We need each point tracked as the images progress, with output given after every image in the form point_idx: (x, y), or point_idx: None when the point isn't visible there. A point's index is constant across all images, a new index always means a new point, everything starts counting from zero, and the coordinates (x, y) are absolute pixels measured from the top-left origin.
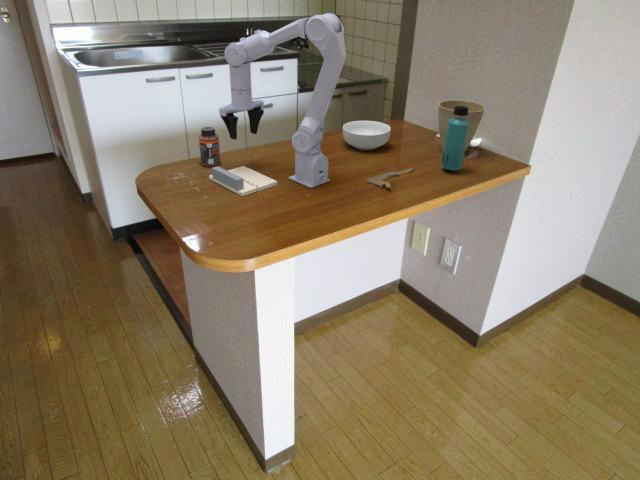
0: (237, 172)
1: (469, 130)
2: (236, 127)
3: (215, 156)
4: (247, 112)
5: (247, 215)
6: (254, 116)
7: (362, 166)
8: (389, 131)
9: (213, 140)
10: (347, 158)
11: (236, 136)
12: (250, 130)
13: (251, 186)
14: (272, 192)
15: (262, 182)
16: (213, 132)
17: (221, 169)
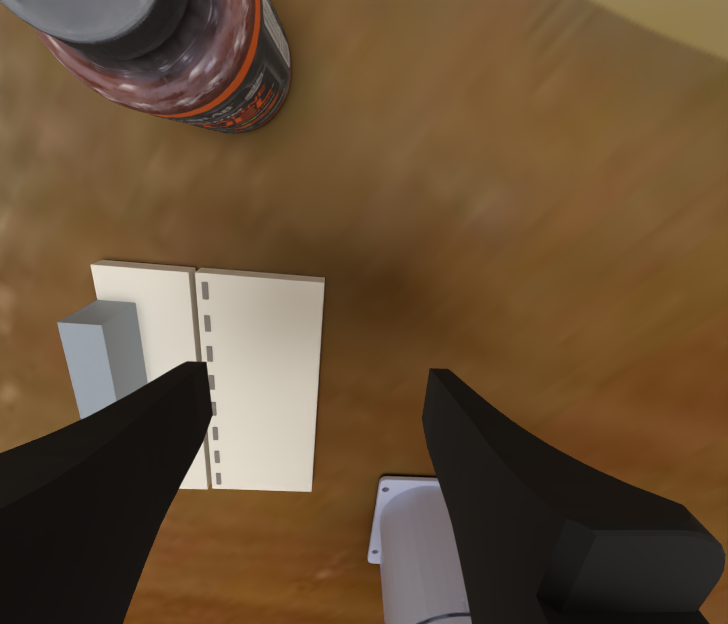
0: (242, 329)
1: None
2: (154, 533)
3: (209, 128)
4: (530, 490)
5: None
6: (483, 577)
7: None
8: None
9: (142, 111)
10: (698, 484)
11: (199, 439)
12: (436, 376)
13: (197, 470)
14: (252, 508)
15: (258, 467)
16: (132, 51)
17: (97, 374)
